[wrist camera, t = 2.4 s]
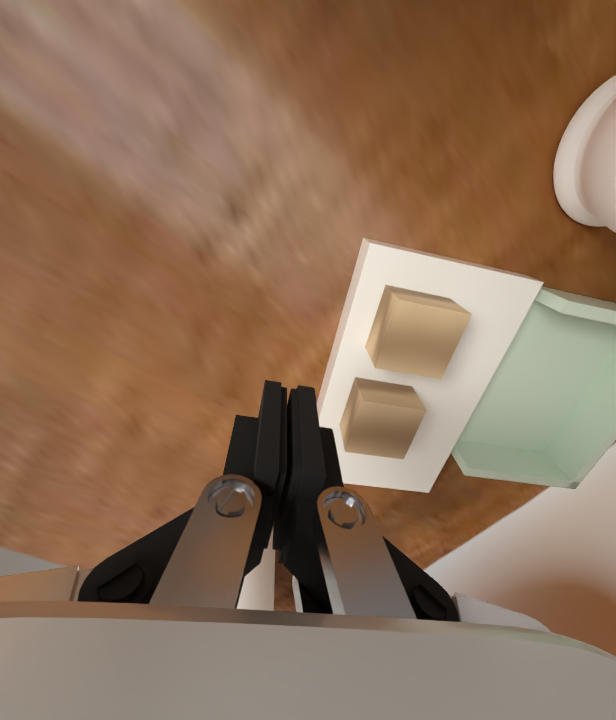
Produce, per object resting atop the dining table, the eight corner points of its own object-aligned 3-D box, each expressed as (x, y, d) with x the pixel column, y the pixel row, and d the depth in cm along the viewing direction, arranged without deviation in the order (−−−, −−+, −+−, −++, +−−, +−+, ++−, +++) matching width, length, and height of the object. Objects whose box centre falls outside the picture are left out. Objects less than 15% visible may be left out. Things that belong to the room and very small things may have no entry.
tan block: (354, 377, 25) (363, 400, 22) (412, 386, 25) (426, 410, 23) (339, 424, 27) (345, 451, 24) (392, 432, 28) (403, 459, 25)
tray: (527, 282, 24) (568, 300, 21) (648, 310, 26) (705, 331, 22) (444, 441, 31) (464, 475, 27) (543, 455, 33) (575, 488, 29)
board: (363, 237, 22) (370, 242, 20) (524, 274, 24) (543, 282, 22) (300, 461, 31) (301, 478, 29) (421, 475, 33) (428, 492, 31)
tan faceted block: (385, 284, 22) (399, 299, 19) (449, 298, 22) (471, 314, 20) (364, 346, 24) (374, 368, 21) (424, 357, 24) (441, 379, 22)
